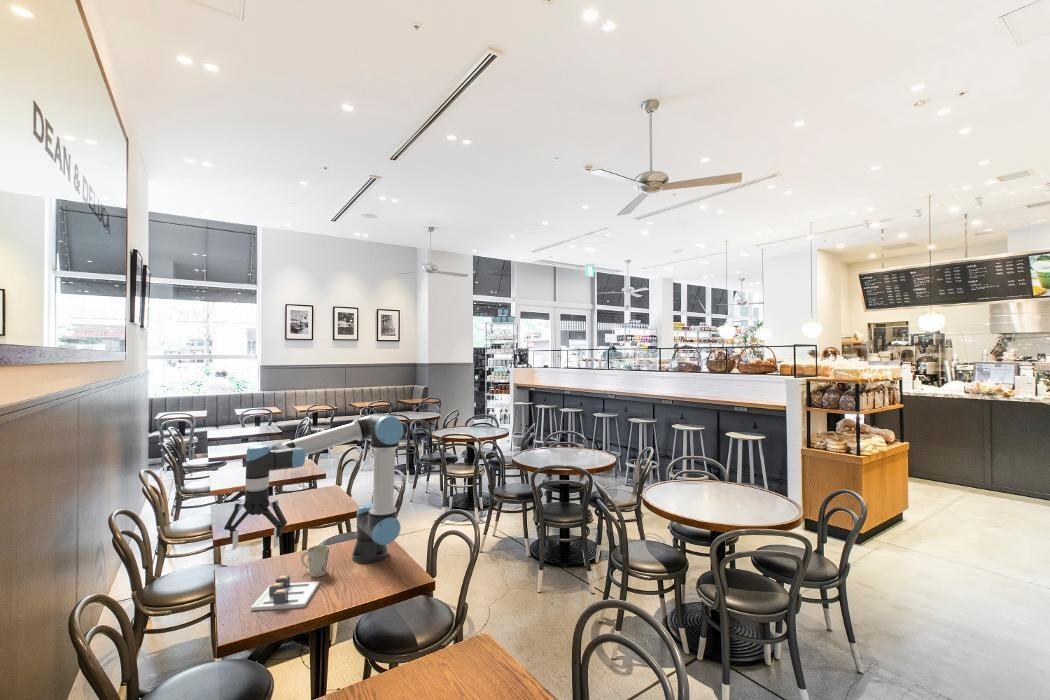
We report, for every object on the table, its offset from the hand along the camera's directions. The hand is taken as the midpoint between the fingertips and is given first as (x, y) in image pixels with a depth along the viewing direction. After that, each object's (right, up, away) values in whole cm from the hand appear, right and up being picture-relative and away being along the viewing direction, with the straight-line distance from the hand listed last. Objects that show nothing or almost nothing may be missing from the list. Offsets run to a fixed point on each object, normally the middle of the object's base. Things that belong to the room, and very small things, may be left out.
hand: (255, 547), depth 169 cm
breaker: (+10, -18, -2) cm, 21 cm away
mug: (+11, -21, +23) cm, 33 cm away
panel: (+10, -20, +4) cm, 22 cm away
